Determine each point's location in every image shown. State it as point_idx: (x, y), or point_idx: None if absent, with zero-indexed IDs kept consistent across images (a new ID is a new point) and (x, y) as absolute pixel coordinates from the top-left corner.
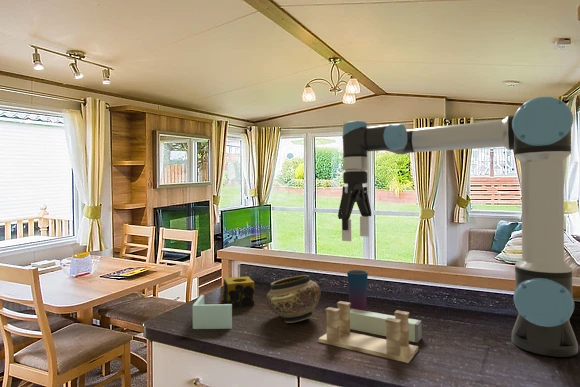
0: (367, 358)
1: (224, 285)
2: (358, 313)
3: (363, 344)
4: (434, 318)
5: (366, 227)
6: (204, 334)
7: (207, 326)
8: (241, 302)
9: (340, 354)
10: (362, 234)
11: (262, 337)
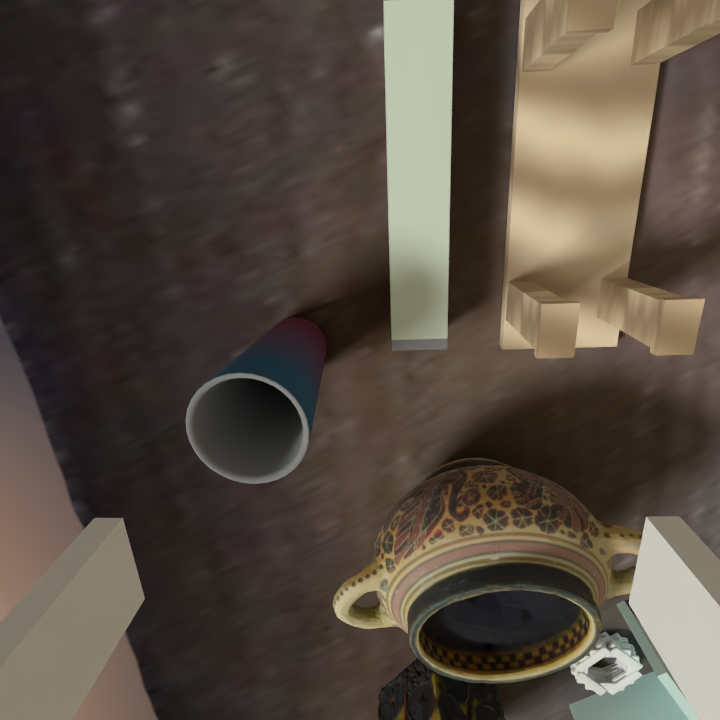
0: (682, 130)
1: None
2: (439, 292)
3: (605, 183)
4: (111, 52)
5: (44, 636)
6: None
7: None
8: (466, 691)
9: (684, 229)
10: (126, 592)
11: (649, 499)
